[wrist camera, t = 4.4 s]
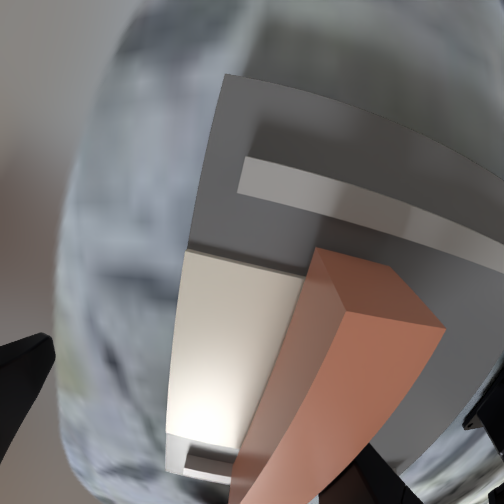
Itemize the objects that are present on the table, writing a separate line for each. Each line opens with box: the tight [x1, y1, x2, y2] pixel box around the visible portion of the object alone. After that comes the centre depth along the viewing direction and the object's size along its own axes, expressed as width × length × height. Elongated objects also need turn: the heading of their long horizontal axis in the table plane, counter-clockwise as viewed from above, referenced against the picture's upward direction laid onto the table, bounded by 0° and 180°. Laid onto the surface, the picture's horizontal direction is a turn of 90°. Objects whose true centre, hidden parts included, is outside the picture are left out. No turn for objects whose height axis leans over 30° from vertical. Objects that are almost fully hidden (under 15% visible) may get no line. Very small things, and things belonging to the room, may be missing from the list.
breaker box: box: [165, 74, 504, 485], centre depth 10 cm, size 13×17×3 cm
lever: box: [228, 247, 446, 504], centre depth 7 cm, size 2×10×3 cm, turn 167°
